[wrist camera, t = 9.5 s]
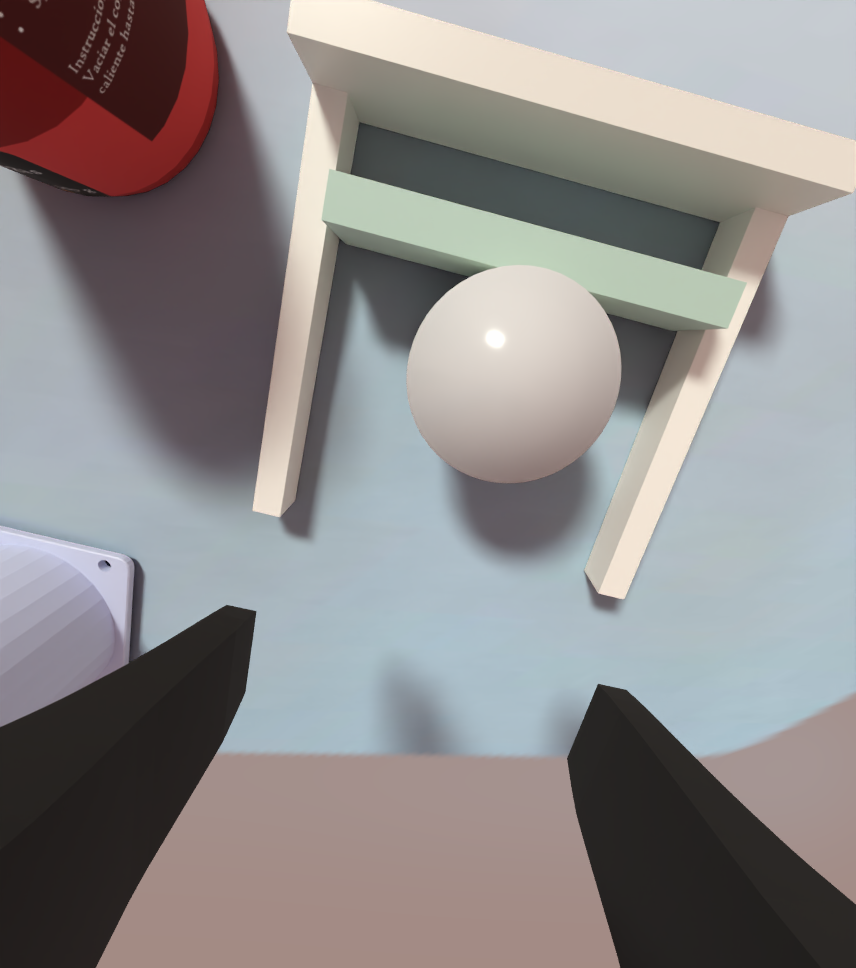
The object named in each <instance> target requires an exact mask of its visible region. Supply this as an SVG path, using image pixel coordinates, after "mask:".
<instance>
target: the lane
mask: <svg viewBox="0 0 856 968" xmlns="http://www.w3.org/2000/svg"><path fill="white" fill-rule="evenodd" d="M287 33H288V35H289V37H290V39H291V41H292V43H293V45H294V47H295V49H296V51H297V53H298V55H299V57H300V59H301V61H302V63H303V65H304V67H305V69H306V71H307V73H308V75H309V77H310V79H311V81H312V83H313V84H312V91H311V98H310V105H309V112H308V120H307V127H306V134H305V141H304V148H303V155H302V162H301V169H300V176H299V183H298V191H297V198H296V205H295V212H294V219H293V226H292V233H291V240H290V247H289V254H288V261H287V269H286V276H285V283H284V290H283V297H282V304H281V311H280V318H279V325H278V332H277V340H276V347H275V354H274V361H273V368H272V375H271V382H270V389H269V396H268V403H267V411H266V418H265V425H264V432H263V439H262V446H261V453H260V460H259V467H258V474H257V482H256V489H255V496H254V503H253V510H252V511H256V512H260V513H264V514H268V515H273V516H277V517H280V516H281V515H282V514H283V513H284V512H285V511H286V510H287V509H288V508H289V507H290V506H291V505H292V503H293V502H294V501H295V498H296V492H297V487H298V481H299V475H300V469H301V463H302V457H303V451H304V445H305V439H306V434H307V428H308V422H309V416H310V410H311V404H312V398H313V392H314V386H315V380H316V375H317V369H318V363H319V357H320V351H321V345H322V339H323V333H324V327H325V322H326V316H327V310H328V304H329V298H330V292H331V286H332V280H333V274H334V269H335V263H336V257H337V251H338V245H339V239H340V238H339V237H338V236H337V235H336V234H335V233H334V232H333V231H332V230H331V229H330V228H329V227H328V226H327V225H326V224H325V223H324V222H323V221H322V220H321V219H322V212H323V206H324V200H325V193H326V187H327V181H328V174H329V169H332V170H336V171H340V172H343V173H347V174H351V168H352V162H353V157H354V151H355V145H356V139H357V133H358V127H359V122H361V123H364V124H368V125H372V126H375V127H379V128H382V129H386V130H390V131H393V132H397V133H400V134H404V135H408V136H411V137H415V138H418V139H422V140H426V141H429V142H433V143H436V144H440V145H444V146H447V147H451V148H454V149H458V150H462V151H465V152H469V153H472V154H476V155H480V156H483V157H487V158H490V159H494V160H498V161H501V162H505V163H508V164H512V165H516V166H519V167H523V168H526V169H530V170H534V171H537V172H541V173H544V174H548V175H552V176H555V177H559V178H562V179H566V180H570V181H573V182H577V183H580V184H584V185H588V186H591V187H595V188H598V189H602V190H606V191H609V192H613V193H616V194H620V195H624V196H627V197H631V198H634V199H638V200H642V201H645V202H649V203H652V204H656V205H660V206H663V207H667V208H670V209H674V210H678V211H681V212H685V213H688V214H692V215H696V216H699V217H703V218H706V219H710V220H714V221H717V222H720V224H719V226H718V229H717V231H716V234H715V237H714V239H713V242H712V244H711V247H710V249H709V252H708V254H707V257H706V260H705V262H704V265H703V267H702V270H703V271H706V272H710V273H714V274H717V275H721V276H725V277H728V278H732V279H736V280H739V281H743V282H747V284H746V287H745V289H744V291H743V294H742V296H741V298H740V301H739V303H738V305H737V308H736V310H735V313H734V315H733V317H732V320H731V322H730V324H729V327H728V329H707V330H682V331H677V334H676V336H675V339H674V342H673V344H672V347H671V349H670V352H669V354H668V357H667V359H666V362H665V365H664V367H663V370H662V372H661V375H660V377H659V380H658V383H657V385H656V388H655V390H654V393H653V395H652V398H651V400H650V403H649V406H648V408H647V411H646V413H645V416H644V418H643V421H642V423H641V426H640V429H639V431H638V434H637V436H636V439H635V441H634V444H633V447H632V449H631V452H630V454H629V457H628V459H627V462H626V464H625V467H624V470H623V472H622V475H621V477H620V480H619V482H618V485H617V488H616V490H615V493H614V495H613V498H612V500H611V503H610V505H609V508H608V511H607V513H606V516H605V518H604V521H603V523H602V526H601V528H600V531H599V534H598V536H597V539H596V541H595V544H594V546H593V549H592V552H591V554H590V557H589V559H588V562H587V564H586V567H585V569H584V571H585V573H586V574H587V576H588V577H589V579H590V581H591V582H592V584H593V586H594V587H595V589H596V590H597V592H598V593H599V594H603V595H607V596H611V597H615V598H620V599H624V598H625V596H626V594H627V591H628V589H629V587H630V584H631V582H632V580H633V577H634V575H635V573H636V570H637V568H638V566H639V563H640V561H641V559H642V556H643V554H644V552H645V549H646V547H647V545H648V542H649V540H650V538H651V535H652V533H653V531H654V528H655V526H656V524H657V521H658V519H659V517H660V514H661V512H662V510H663V507H664V505H665V503H666V500H667V498H668V496H669V493H670V491H671V489H672V486H673V484H674V482H675V479H676V477H677V475H678V472H679V470H680V468H681V465H682V463H683V461H684V458H685V456H686V454H687V451H688V449H689V447H690V444H691V442H692V440H693V437H694V435H695V433H696V430H697V428H698V426H699V423H700V421H701V419H702V416H703V414H704V412H705V409H706V407H707V405H708V402H709V400H710V398H711V395H712V393H713V391H714V388H715V386H716V384H717V381H718V379H719V377H720V374H721V372H722V370H723V367H724V365H725V363H726V360H727V358H728V356H729V353H730V351H731V349H732V346H733V344H734V342H735V339H736V337H737V335H738V333H739V330H740V328H741V326H742V323H743V321H744V319H745V316H746V314H747V312H748V309H749V307H750V305H751V302H752V300H753V298H754V295H755V293H756V291H757V288H758V286H759V284H760V281H761V279H762V277H763V274H764V272H765V270H766V267H767V265H768V263H769V260H770V258H771V256H772V253H773V251H774V249H775V246H776V244H777V242H778V239H779V237H780V235H781V232H782V230H783V228H784V225H785V223H786V221H787V218H788V216H790V215H793V214H796V213H799V212H801V211H804V210H807V209H810V208H813V207H815V206H818V205H821V204H824V203H826V202H829V201H832V200H835V199H838V198H840V197H843V196H846V195H849V194H851V193H853V192H854V189H855V187H856V141H855V140H852V139H848V138H845V137H841V136H838V135H834V134H831V133H827V132H824V131H821V130H817V129H814V128H810V127H807V126H803V125H800V124H796V123H793V122H789V121H786V120H783V119H779V118H776V117H772V116H769V115H765V114H762V113H758V112H755V111H751V110H748V109H744V108H741V107H738V106H734V105H731V104H727V103H724V102H720V101H717V100H713V99H710V98H706V97H703V96H700V95H696V94H693V93H689V92H686V91H682V90H679V89H675V88H672V87H668V86H665V85H662V84H658V83H655V82H651V81H648V80H644V79H641V78H637V77H634V76H630V75H627V74H624V73H620V72H617V71H613V70H610V69H606V68H603V67H599V66H596V65H592V64H589V63H586V62H582V61H579V60H575V59H572V58H568V57H565V56H561V55H558V54H554V53H551V52H548V51H544V50H541V49H537V48H534V47H530V46H527V45H523V44H520V43H516V42H513V41H510V40H506V39H503V38H499V37H496V36H492V35H489V34H485V33H482V32H478V31H475V30H472V29H468V28H465V27H461V26H458V25H454V24H451V23H447V22H444V21H440V20H437V19H434V18H430V17H427V16H423V15H420V14H416V13H413V12H409V11H406V10H402V9H399V8H396V7H392V6H389V5H385V4H382V3H378V2H375V1H371V0H291V3H290V11H289V20H288V28H287Z"/></svg>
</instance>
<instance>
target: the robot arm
mask: <svg viewBox="0 0 856 968" xmlns="http://www.w3.org/2000/svg"><path fill="white" fill-rule="evenodd" d="M105 560H106V561H108V562H109V563H110V565H111V567H110V566H108V565H107V564H106V563H105ZM133 583H134V563H133V561H132V560H131V559H130V558H129V557H128V556H126V555H124V554H120V553H116V552H112V551H107V550H103V549H99V548H94V547H90V546H86V545H81V544H77V543H73V542H69V541H64V540H60V539H56V538H51V537H47V536H43V535H38V534H34V533H30V532H26V531H21V530H17V529H13V528H8V527H4V526H0V968H96V966H97V964H98V962H99V960H100V958H101V956H102V954H103V952H104V950H105V948H106V946H107V944H108V942H109V940H110V938H111V936H112V934H113V932H114V930H115V928H116V926H117V924H118V922H119V920H120V918H121V916H122V914H123V912H124V910H125V908H126V906H127V904H128V902H129V900H130V898H131V897H132V895H133V893H134V891H135V889H136V887H137V886H138V884H139V882H140V880H141V879H142V877H143V875H144V873H145V871H146V870H147V868H148V866H149V864H150V863H151V861H152V860H153V858H154V856H155V855H156V853H157V851H158V850H159V848H160V846H161V845H162V843H163V841H164V840H165V838H166V836H167V834H168V833H169V831H170V830H171V828H172V826H173V825H174V823H175V821H176V819H177V818H178V816H179V815H180V813H181V811H182V809H183V808H184V806H185V805H186V803H187V801H188V800H189V798H190V796H191V794H192V793H193V791H194V789H195V788H196V786H197V785H198V783H199V781H200V779H201V778H202V776H203V774H204V773H205V771H206V769H207V768H208V766H209V764H210V762H211V761H212V759H213V757H214V756H215V754H216V752H217V751H218V749H219V747H220V746H221V744H222V742H223V740H224V738H225V736H226V734H227V731H228V729H229V727H230V725H231V723H232V721H233V719H234V716H235V714H236V712H237V710H238V708H239V705H240V703H241V701H242V699H243V696H244V694H245V691H246V683H247V676H248V669H249V662H250V654H251V647H252V640H253V632H254V625H255V618H256V611H253V610H248V609H243V608H238V607H234V606H229V605H226V606H224V607H222V608H221V609H219V610H217V611H215V612H214V613H212V614H210V615H209V616H207V617H205V618H204V619H202V620H200V621H199V622H197V623H196V624H194V625H192V626H191V627H189V628H187V629H186V630H184V631H182V632H181V633H179V634H178V635H176V636H174V637H173V638H171V639H169V640H168V641H166V642H164V643H163V644H161V645H159V646H157V647H156V648H154V649H152V650H151V651H149V652H147V653H145V654H144V655H142V656H140V657H138V658H137V659H135V660H133V661H132V662H130V663H129V649H130V632H131V616H132V599H133ZM567 760H568V767H569V774H570V780H571V787H572V792H573V798H574V803H575V809H576V814H577V818H578V821H579V825H580V828H581V832H582V836H583V839H584V843H585V846H586V850H587V853H588V857H589V860H590V864H591V867H592V871H593V874H594V877H595V881H596V884H597V888H598V891H599V894H600V898H601V901H602V905H603V908H604V912H605V915H606V919H607V922H608V925H609V929H610V932H611V936H612V939H613V942H614V946H615V949H616V953H617V956H618V960H619V964H620V968H856V904H854V903H853V902H852V901H851V900H850V899H848V898H847V897H846V896H845V895H844V894H843V893H841V892H840V891H839V890H838V889H837V888H835V887H834V886H833V885H832V884H831V883H829V882H828V881H827V880H826V879H825V878H824V877H822V876H821V875H820V874H819V873H818V872H816V871H815V870H814V869H813V868H812V867H811V866H809V865H808V864H807V863H806V862H805V861H804V860H803V859H802V858H800V857H799V856H798V855H797V854H796V853H795V852H794V851H792V850H791V849H790V848H789V847H788V846H787V845H786V844H785V843H784V842H783V841H781V840H780V839H779V838H778V837H777V836H776V835H775V834H774V833H773V832H772V831H771V830H770V829H769V828H767V827H766V826H765V825H764V824H763V823H762V822H761V821H760V820H759V819H758V818H757V817H755V815H753V814H752V813H751V812H750V811H749V810H748V809H747V808H746V807H745V806H744V805H743V804H742V803H741V802H740V801H739V800H738V799H737V798H736V797H734V796H733V795H732V794H731V793H730V792H729V791H728V790H727V789H726V788H725V787H724V786H723V785H722V784H721V783H720V782H719V781H718V780H717V779H716V778H715V777H714V776H713V775H712V774H711V773H710V772H709V771H708V770H707V769H706V768H705V767H704V766H703V765H702V764H701V763H700V762H699V761H698V760H697V759H696V758H695V757H694V756H693V755H692V754H691V753H690V752H689V751H688V750H687V749H686V748H685V747H684V746H683V745H682V744H681V743H680V742H679V741H678V740H677V739H676V738H675V737H674V736H673V735H672V734H671V733H670V732H669V731H668V730H667V729H666V728H665V727H664V726H663V725H662V724H661V723H660V722H659V721H658V720H657V719H656V718H655V717H654V716H653V715H652V714H651V713H650V712H649V711H648V710H647V709H646V708H645V707H644V706H643V705H642V704H641V703H640V702H639V701H638V700H637V699H636V698H635V697H634V696H632V695H631V694H630V693H629V692H628V691H627V690H624V689H619V688H615V687H610V686H605V685H601V684H598V685H597V688H596V690H595V693H594V695H593V697H592V700H591V702H590V705H589V707H588V709H587V712H586V714H585V717H584V719H583V722H582V724H581V726H580V729H579V731H578V734H577V736H576V738H575V741H574V743H573V746H572V748H571V750H570V753H569V755H568V758H567Z"/></svg>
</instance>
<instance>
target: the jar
mask: <svg viewBox="0 0 856 968" xmlns="http://www.w3.org/2000/svg"><path fill="white" fill-rule="evenodd" d="M620 382H621V356H620V349H619V344H618V340H617V336H616V334H615V331H614V328H613V326H612V323H611V321H610V320H609V318H608V316H607V314H606V312H605V311H604V309H603V308H602V307H601V305H600V304H599V303H598V301H597V300H596V299H595V298H594V297H593V296H592V295H591V294H590V293H589V292H588V291H587V290H586V289H585V288H584V287H582V286H581V285H579V284H578V283H577V282H575V281H574V280H572V279H570V278H568V277H567V276H565V275H563V274H561V273H558V272H555V271H552V270H550V269H547V268H542V267H536V266H529V265H511V266H501V267H497V268H493V269H489V270H486V271H483V272H481V273H478V274H475V275H473V276H471V277H469V278H468V279H466V280H464V281H462V282H460V283H459V284H457V285H456V286H455V287H453V288H452V289H451V290H449V291H448V292H447V293H446V294H445V295H444V296H443V297H442V298H441V299H440V300H439V301H438V302H437V303H436V304H435V305H434V306H433V308H432V309H431V310H430V311H429V313H428V314H427V315H426V317H425V319H424V320H423V322H422V324H421V325H420V327H419V329H418V332H417V334H416V336H415V338H414V341H413V344H412V347H411V351H410V354H409V360H408V366H407V383H406V384H407V394H408V400H409V405H410V409H411V412H412V415H413V418H414V421H415V423H416V425H417V427H418V429H419V431H420V433H421V435H422V436H423V438H424V439H425V441H426V442H427V443H428V445H429V446H430V447H431V448H432V449H433V451H434V452H435V453H436V454H437V455H438V456H439V457H440V458H442V459H443V460H444V461H445V462H446V463H448V464H449V465H451V466H452V467H454V468H455V469H457V470H458V471H460V472H462V473H465V474H467V475H469V476H471V477H474V478H477V479H480V480H484V481H489V482H495V483H522V482H527V481H533V480H537V479H540V478H543V477H546V476H549V475H551V474H553V473H555V472H557V471H560V470H561V469H563V468H565V467H566V466H568V465H569V464H571V463H573V462H574V461H575V460H576V459H578V458H579V457H580V456H581V455H583V454H584V453H585V452H586V451H587V450H588V449H589V448H590V446H591V445H592V444H593V443H594V442H595V441H596V439H597V438H598V437H599V435H600V434H601V433H602V431H603V429H604V428H605V426H606V424H607V423H608V421H609V419H610V417H611V414H612V412H613V410H614V407H615V404H616V401H617V397H618V394H619V388H620Z"/></svg>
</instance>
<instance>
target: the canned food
mask: <svg viewBox="0 0 856 968" xmlns="http://www.w3.org/2000/svg"><path fill="white" fill-rule="evenodd" d="M218 82H219V74H218V59H217V49H216V45H215V40H214V36H213V32H212V28H211V24H210V20H209V16H208V12H207V9H206V5H205V1H204V0H0V166H2V167H5V168H8V169H10V170H13V171H15V172H18V173H20V174H23V175H26V176H28V177H31V178H33V179H36V180H38V181H41V182H44V183H46V184H49V185H51V186H54V187H56V188H59V189H62V190H64V191H69V192H73V193H77V194H82V195H86V196H128V195H133V194H138V193H142V192H147V191H150V190H152V189H154V188H156V187H158V186H160V185H162V184H165V183H167V182H168V181H169V180H171V179H172V178H173V177H174V176H176V175H177V174H178V173H180V172H181V171H182V170H183V169H184V168H185V167H186V166H187V165H188V163H189V162H190V161H191V160H192V158H193V157H194V156H195V155H196V154H197V152H198V151H199V149H200V147H201V145H202V143H203V141H204V139H205V137H206V135H207V133H208V131H209V129H210V125H211V122H212V118H213V115H214V111H215V108H216V103H217V92H218Z"/></svg>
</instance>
